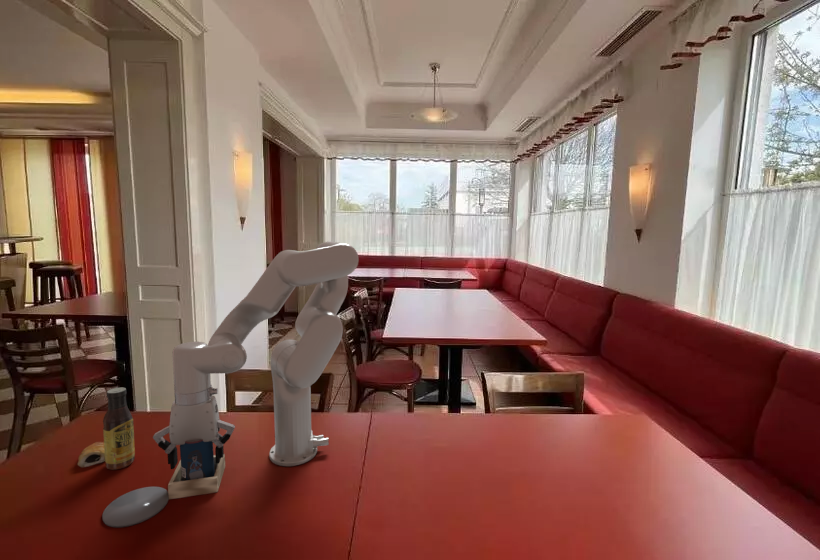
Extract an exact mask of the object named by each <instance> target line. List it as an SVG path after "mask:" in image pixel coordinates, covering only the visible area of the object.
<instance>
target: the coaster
mask: <svg viewBox="0 0 820 560" xmlns="http://www.w3.org/2000/svg"><path fill="white" fill-rule="evenodd" d="M169 500H170V499H169V494H168V489H166V488H164V487H160V486H145V487H141V488H137V489H133V490H131V491H129V492H126V493H123V494H122V495H120V496H118V497H116V498H115V499H114V500H113V501H112V502H110V503H109V504H108V505H107V506H106V508H105V509H104V510H103V511H102V512H103V513H102V516H101V517H102V521H103V523H104V525H106V526H107V527H111V528H117V529H118V528H126V527H132V526H135V525H138V524H140V523H143V522H146V521H147V520H149V519H151V518H153V517H154V516H156V515H158V514H159V513H160V512H161V511H162V510H163V509H164V508H165V507H166V506H167V504H168V503H169Z"/></svg>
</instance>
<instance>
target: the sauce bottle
mask: <svg viewBox="0 0 820 560" xmlns="http://www.w3.org/2000/svg"><path fill="white" fill-rule="evenodd" d="M127 392H128V391H127V388H126V387H120V386H119V387H115V388H110V389H109V390H107V391H106V398H107V401H108V402H107V404H108V405H107V410H106V413H105V414H104V416H103V419H102V420H103V421H102V422H103V430H102V432H103V442H104V452H105V461H104V463H105V468H106V469H108V470H112V471H115V470H121V469H123V468H126V467H128V466H130V465H131V464H132V463H134V460H135V455H136V449H135V446H136V445H135V432H134V431H135V430H134V429H135V428H134V418H133V415H132V413H131V412H130V409H129V408H128V403H127Z"/></svg>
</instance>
